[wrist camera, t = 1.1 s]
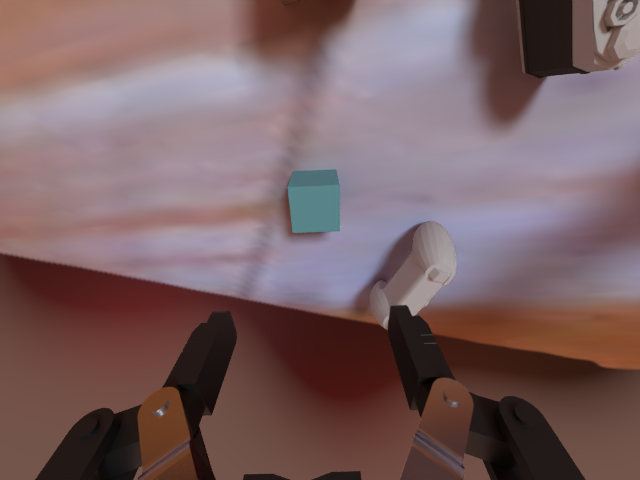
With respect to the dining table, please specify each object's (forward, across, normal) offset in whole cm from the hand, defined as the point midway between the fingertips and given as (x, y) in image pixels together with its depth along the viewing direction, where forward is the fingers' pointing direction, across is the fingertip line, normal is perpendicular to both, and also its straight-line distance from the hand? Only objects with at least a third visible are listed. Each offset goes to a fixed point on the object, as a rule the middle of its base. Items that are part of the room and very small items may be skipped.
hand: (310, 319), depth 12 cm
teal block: (+20, 0, 0) cm, 20 cm away
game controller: (+20, -11, +10) cm, 25 cm away
